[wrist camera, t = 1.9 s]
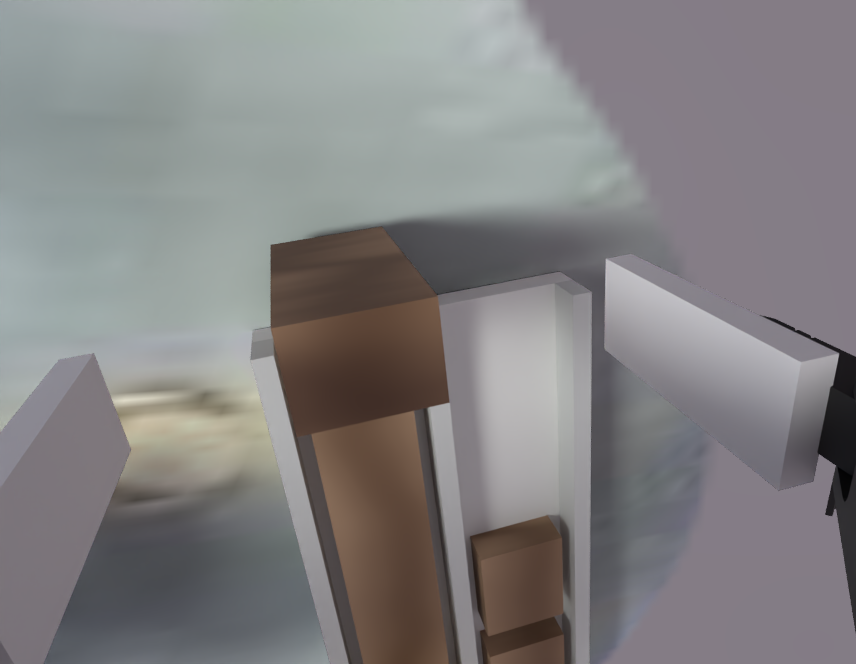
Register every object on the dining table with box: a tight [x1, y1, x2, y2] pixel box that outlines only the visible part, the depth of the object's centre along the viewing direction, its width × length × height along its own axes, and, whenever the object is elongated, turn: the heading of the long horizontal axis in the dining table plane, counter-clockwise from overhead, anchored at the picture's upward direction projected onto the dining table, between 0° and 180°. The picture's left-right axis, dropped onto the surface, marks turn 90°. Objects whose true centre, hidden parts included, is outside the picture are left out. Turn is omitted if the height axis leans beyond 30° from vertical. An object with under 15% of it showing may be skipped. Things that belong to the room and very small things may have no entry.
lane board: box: [250, 272, 592, 664], centre depth 28 cm, size 13×28×3 cm, turn 7°
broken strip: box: [470, 515, 564, 664], centre depth 31 cm, size 4×14×2 cm, turn 7°
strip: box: [271, 226, 450, 664], centre depth 23 cm, size 4×30×8 cm, turn 6°
